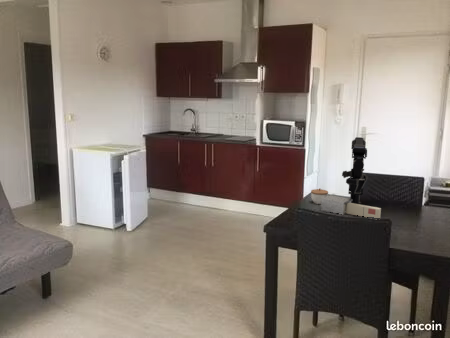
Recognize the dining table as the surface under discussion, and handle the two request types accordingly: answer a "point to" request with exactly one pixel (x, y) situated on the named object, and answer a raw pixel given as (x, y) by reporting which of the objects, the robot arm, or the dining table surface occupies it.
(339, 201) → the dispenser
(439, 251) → the dining table surface
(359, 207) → the beige rectangular box
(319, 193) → the lidded jar
